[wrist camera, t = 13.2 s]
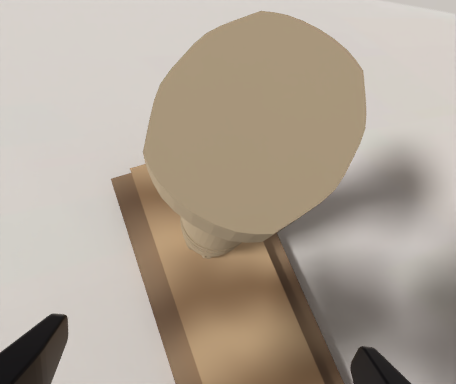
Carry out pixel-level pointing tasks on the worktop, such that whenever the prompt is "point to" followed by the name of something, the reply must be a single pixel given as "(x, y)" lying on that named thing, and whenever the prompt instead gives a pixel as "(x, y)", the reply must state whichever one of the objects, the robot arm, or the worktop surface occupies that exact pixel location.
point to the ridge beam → (222, 301)
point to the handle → (254, 129)
